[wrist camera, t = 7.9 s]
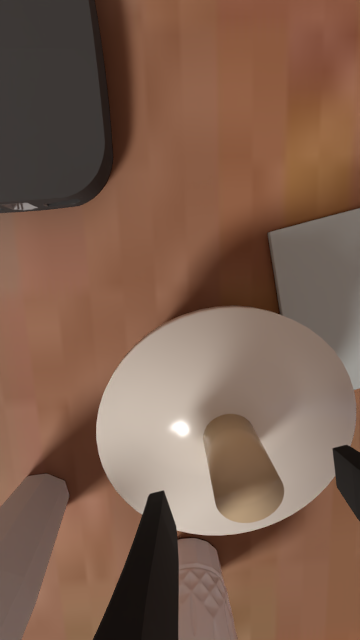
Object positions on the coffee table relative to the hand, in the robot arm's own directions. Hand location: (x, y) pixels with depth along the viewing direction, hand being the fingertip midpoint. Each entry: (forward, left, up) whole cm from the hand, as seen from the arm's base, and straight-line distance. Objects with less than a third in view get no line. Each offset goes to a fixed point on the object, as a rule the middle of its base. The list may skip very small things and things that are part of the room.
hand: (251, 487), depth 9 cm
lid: (0, 0, -4) cm, 4 cm away
